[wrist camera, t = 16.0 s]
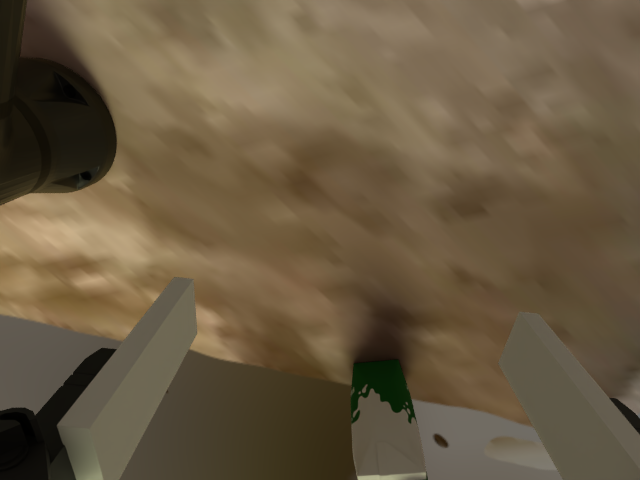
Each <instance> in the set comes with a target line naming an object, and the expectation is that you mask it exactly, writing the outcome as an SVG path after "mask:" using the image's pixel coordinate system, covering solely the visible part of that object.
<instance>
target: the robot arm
mask: <svg viewBox="0 0 640 480" xmlns="http://www.w3.org/2000/svg"><path fill="white" fill-rule="evenodd" d="M26 5H27V0H0V205H2V204H5V203H7V202H9V201H12V200H14V199H17V198H19V197H21V196H24V195H26V194H29V193H69V192H74V191H78V190H81V189H83V188H85V187H88V186H90V185H92V184H94V183H96V182H98V181H99V180H100V179H102V178H103V177H104V176H105V175H106V174H107V172H108V171H109V169H110V168H111V166H112V164H113V161H114V158H115V153H116V134H115V129H114V125H113V122H112V119H111V116H110V114H109V112H108V110H107V108H106V106H105V104H104V103H103V101H102V100H101V98H100V97H99V95H98V94H97V93H96V91H95V90H94V89H93V88H92V87H91V86H90V85H89V84H88V83H87V82H86V81H85V80H84V79H83V78H81V77H80V76H79V75H78V74H76V73H75V72H73V71H72V70H70V69H68V68H67V67H65V66H63V65H61V64H58V63H56V62H53V61H50V60H46V59H40V58H24V57H20V50H21V43H22V35H23V27H24V20H25V12H26ZM196 335H197V323H196V309H195V295H194V281H193V279H189V278H179V277H174V278H173V279H172V281H171V282H170V283H169V284H168V286H167V287H166V288H165V289H164V291H163V292H162V293H161V294H160V296H159V297H158V298H157V300H156V301H155V302H154V303H153V305H152V306H151V307H150V308H149V310H148V311H147V312H146V313H145V315H144V316H143V317H142V318H141V320H140V321H139V322H138V323H137V325H136V326H135V327H134V329H133V330H132V331H131V332H130V334H129V335H128V336H127V337H126V339H125V340H124V341H123V342H122V344H121V345H120V346H119V347H118V349H108V348H101V349H99V350H98V351H96V352H95V353H93V354H92V355H90V356H89V357H87V358H86V359H85V360H84V361H83V362H82V363H81V364H80V365H79V367H78V368H77V369H76V370H75V371H74V372H73V375H71V376H70V377H69V378H68V379H67V380H66V381H65V382H64V385H63V386H61V387H60V388H59V389H58V390H57V391H56V393H55V394H54V395H53V396H52V397H51V398H50V399H49V401H48V402H47V403H46V404H45V405H44V406H43V407H42V409H41V410H40V411H39V412H38V413H37V414H36V415H34V413H33V411H31V410H29V409H26V408H10V409H6V410H3V411H0V480H119V479H120V477H121V475H122V473H123V471H124V469H125V467H126V465H127V464H128V462H129V460H130V458H131V456H132V454H133V452H134V451H135V449H136V447H137V445H138V443H139V441H140V439H141V438H142V436H143V434H144V432H145V430H146V428H147V426H148V424H149V423H150V421H151V419H152V417H153V415H154V413H155V411H156V409H157V407H158V406H159V404H160V402H161V400H162V398H163V396H164V394H165V393H166V391H167V389H168V386H169V385H170V383H171V381H172V379H173V378H174V376H175V374H176V372H177V370H178V368H179V366H180V365H181V363H182V361H183V359H184V357H185V355H186V353H187V351H188V350H189V348H190V346H191V344H192V342H193V340H194V338H195V336H196ZM498 364H499V366H500V367H501V369H502V371H503V373H504V375H505V376H506V378H507V380H508V382H509V384H510V385H511V387H512V389H513V391H514V393H515V394H516V396H517V398H518V400H519V402H520V403H521V405H522V407H523V409H524V411H525V412H526V414H527V416H528V418H529V419H530V421H531V423H532V425H533V427H534V428H535V430H536V432H537V434H538V436H539V437H540V439H541V441H542V443H543V445H544V446H545V448H546V450H547V452H548V454H549V455H550V457H551V459H552V461H553V463H554V464H555V466H556V468H557V470H558V472H559V473H560V475H561V477H562V479H563V480H640V418H639V417H638V416H637V415H636V414H635V413H634V412H633V411H632V410H630V409H629V408H628V407H627V406H625V405H624V404H623V403H621V402H620V401H619V400H618V399H616V398H608V396H607V395H606V394H605V393H604V392H603V390H602V389H601V388H600V387H599V386H598V384H597V383H596V382H595V381H594V380H593V378H592V377H591V376H590V375H589V374H588V372H587V371H586V370H585V369H584V368H583V366H582V365H581V364H580V363H579V362H578V361H577V359H576V358H575V357H574V356H573V355H572V353H571V352H570V351H569V350H568V349H567V347H566V346H565V345H564V344H563V343H562V341H561V340H560V339H559V338H558V337H557V335H556V334H555V333H554V332H553V331H552V329H551V328H550V327H549V326H548V325H547V324H546V322H545V321H544V320H543V319H542V318H541V316H540V315H539V314H536V313H526V312H519V314H518V316H517V319H516V321H515V324H514V326H513V329H512V331H511V333H510V336H509V338H508V341H507V343H506V346H505V348H504V351H503V353H502V356H501V358H500V361H499V363H498Z"/></svg>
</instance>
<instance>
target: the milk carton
mask: <svg viewBox="0 0 640 480" xmlns="http://www.w3.org/2000/svg"><path fill="white" fill-rule="evenodd" d="M351 420H352V421H351V422H352V444H353V458H354V462H355V468H356V473H357V478H358V480H428V478H427V472H426V469H425V461H424V454H423V449H422V444H421V439H420V435H419V431H418V426H417V421H416V417H415V413H414V409H413V404H412V400H411V396H410V393H409V389H408V386H407V383H406V381H405V378H404V375H403V372H402V369H401V366H400V363H399V360H398V359H397V360H386V361H376V362H365V363H354V366H353V377H352V389H351Z"/></svg>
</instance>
